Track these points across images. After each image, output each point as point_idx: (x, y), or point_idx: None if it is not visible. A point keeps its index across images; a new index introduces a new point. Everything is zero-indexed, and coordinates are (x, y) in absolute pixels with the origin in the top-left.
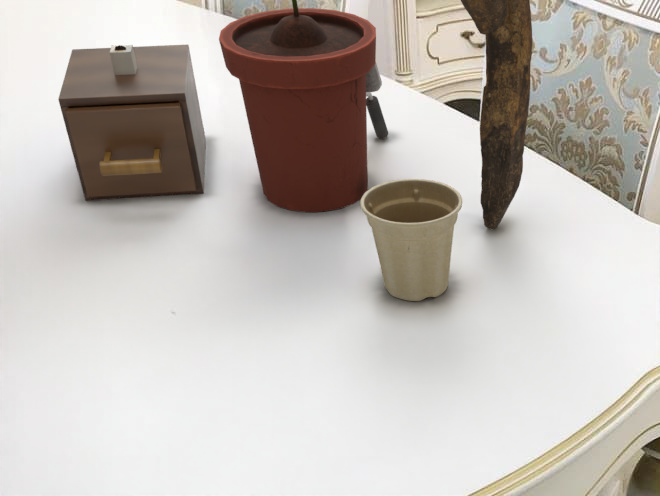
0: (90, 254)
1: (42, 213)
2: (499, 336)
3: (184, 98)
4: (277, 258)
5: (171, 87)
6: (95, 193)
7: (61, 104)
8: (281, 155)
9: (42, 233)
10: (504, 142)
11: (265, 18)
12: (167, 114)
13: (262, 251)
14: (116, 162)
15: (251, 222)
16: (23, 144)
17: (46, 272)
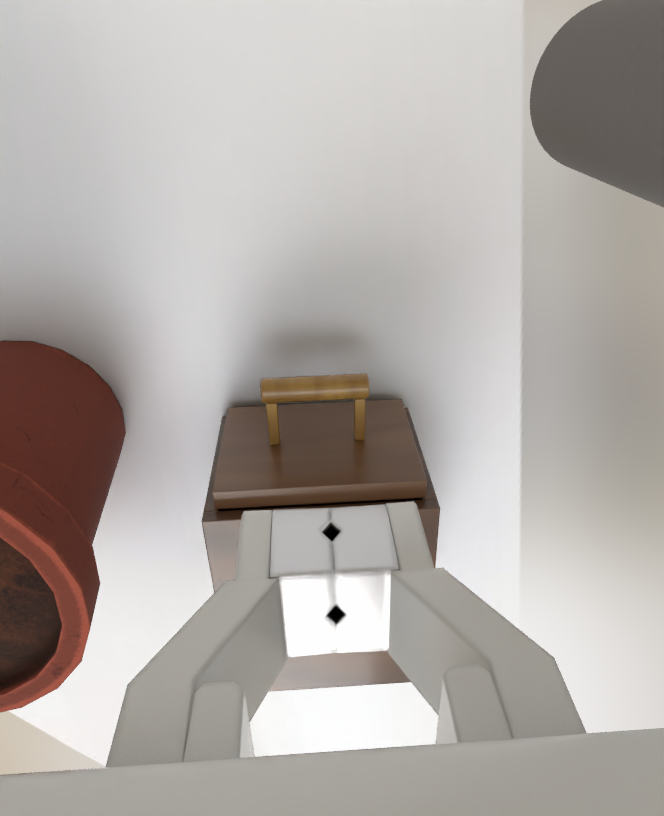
0: (389, 223)
1: (472, 373)
2: None
3: (205, 514)
4: (45, 169)
5: (232, 544)
6: (389, 401)
7: (434, 502)
8: (27, 392)
9: (471, 307)
10: None
11: (17, 684)
12: (240, 482)
13: (80, 201)
14: (338, 388)
15: (123, 314)
16: (502, 572)
17: (461, 161)
